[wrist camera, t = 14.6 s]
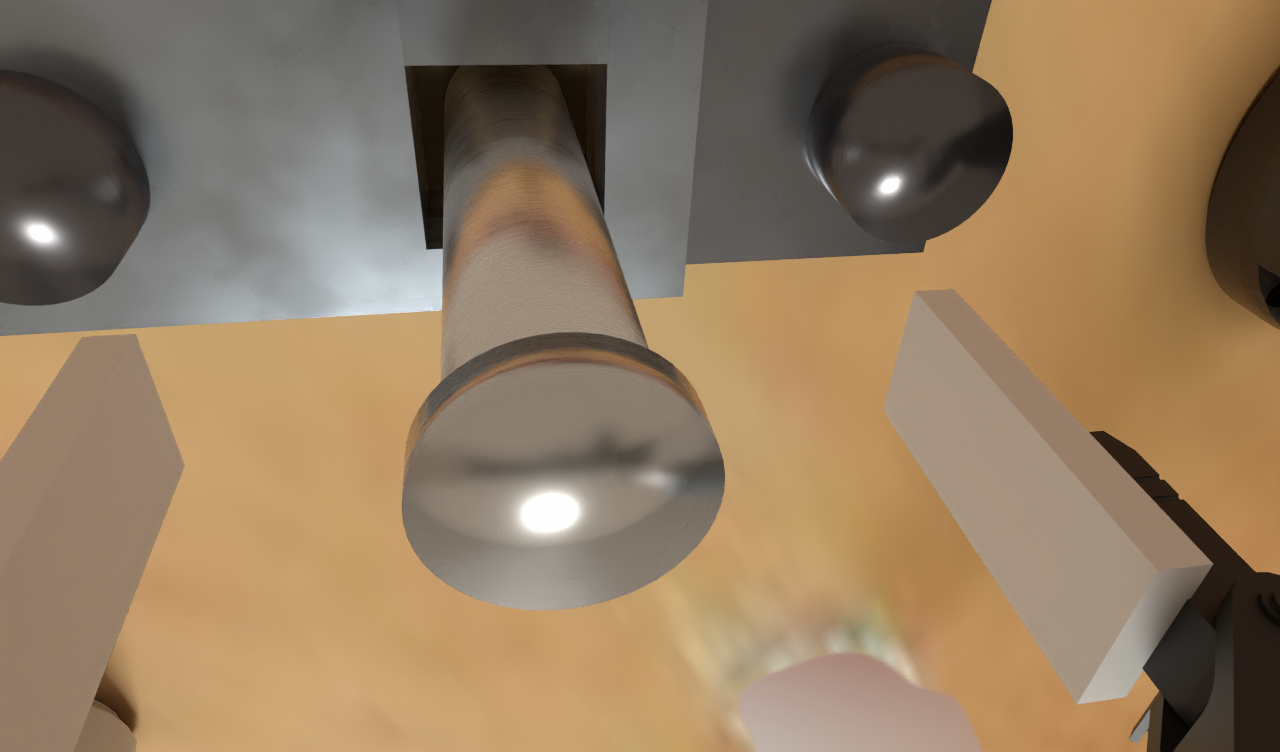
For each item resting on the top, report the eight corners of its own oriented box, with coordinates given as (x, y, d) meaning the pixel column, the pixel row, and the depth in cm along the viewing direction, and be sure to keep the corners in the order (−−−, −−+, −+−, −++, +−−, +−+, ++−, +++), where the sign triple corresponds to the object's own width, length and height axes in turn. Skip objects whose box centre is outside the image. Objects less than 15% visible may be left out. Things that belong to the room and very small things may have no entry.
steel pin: (580, 29, 24) (741, 362, 11) (580, 178, 27) (709, 591, 14) (419, 30, 24) (378, 388, 10) (435, 183, 26) (421, 626, 13)
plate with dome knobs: (965, -46, 25) (1086, -1, 20) (898, 226, 30) (981, 313, 26) (-86, -63, 20) (-249, -8, 16) (51, 264, 26) (-39, 379, 21)
